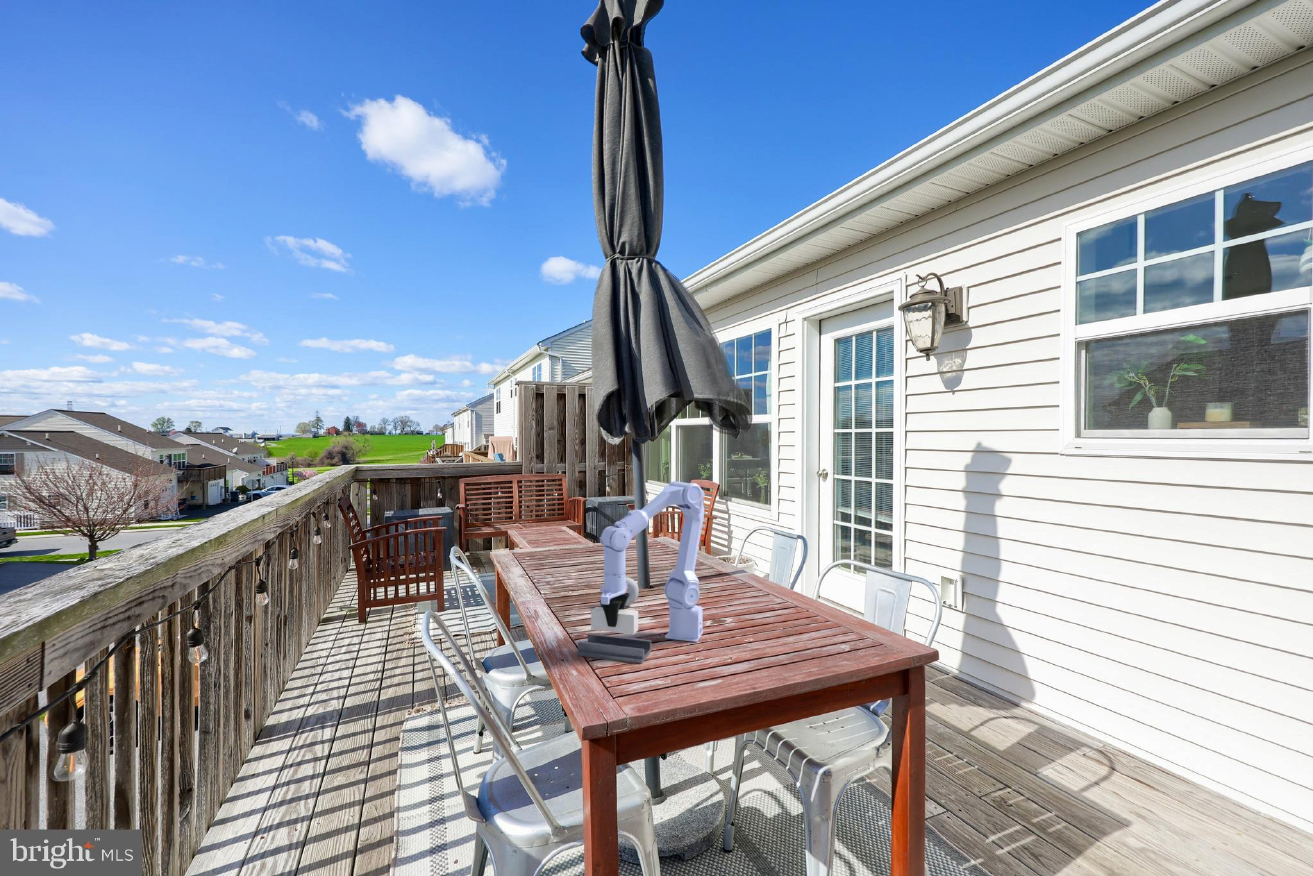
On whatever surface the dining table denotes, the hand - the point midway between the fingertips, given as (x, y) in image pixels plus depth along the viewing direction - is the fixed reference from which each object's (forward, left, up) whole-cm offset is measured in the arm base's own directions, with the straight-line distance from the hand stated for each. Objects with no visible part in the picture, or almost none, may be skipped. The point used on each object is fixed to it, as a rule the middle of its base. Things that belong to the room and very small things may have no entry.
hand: (614, 623), depth 143 cm
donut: (+11, -37, -8) cm, 39 cm away
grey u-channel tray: (0, 0, -8) cm, 8 cm away
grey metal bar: (0, 0, -2) cm, 2 cm away
